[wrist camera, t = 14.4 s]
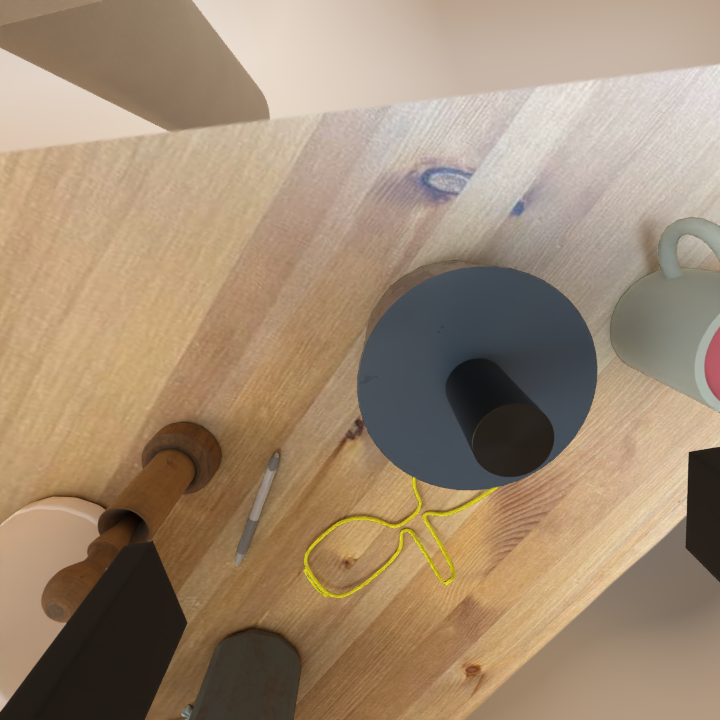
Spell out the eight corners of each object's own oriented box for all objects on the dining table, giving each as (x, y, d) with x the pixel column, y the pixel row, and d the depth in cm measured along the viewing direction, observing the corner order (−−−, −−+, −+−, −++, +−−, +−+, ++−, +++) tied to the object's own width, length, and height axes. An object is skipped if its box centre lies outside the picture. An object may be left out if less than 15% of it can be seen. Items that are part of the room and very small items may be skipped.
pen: (284, 450, 41) (281, 457, 40) (243, 561, 45) (239, 571, 43) (274, 446, 41) (271, 454, 39) (234, 558, 45) (230, 568, 43)
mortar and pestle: (164, 485, 42) (23, 661, 25) (144, 426, 40) (-23, 572, 23) (228, 476, 42) (130, 649, 25) (211, 416, 40) (92, 558, 23)
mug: (730, 347, 37) (856, 388, 28) (624, 387, 38) (710, 440, 29) (698, 194, 34) (829, 179, 24) (583, 244, 35) (663, 249, 25)
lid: (337, 289, 27) (323, 314, 19) (584, 242, 26) (683, 248, 18) (379, 495, 32) (382, 589, 24) (592, 463, 31) (675, 549, 22)
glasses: (477, 406, 39) (491, 429, 35) (541, 475, 41) (563, 506, 37) (288, 556, 44) (279, 594, 40) (353, 611, 46) (351, 653, 42)
